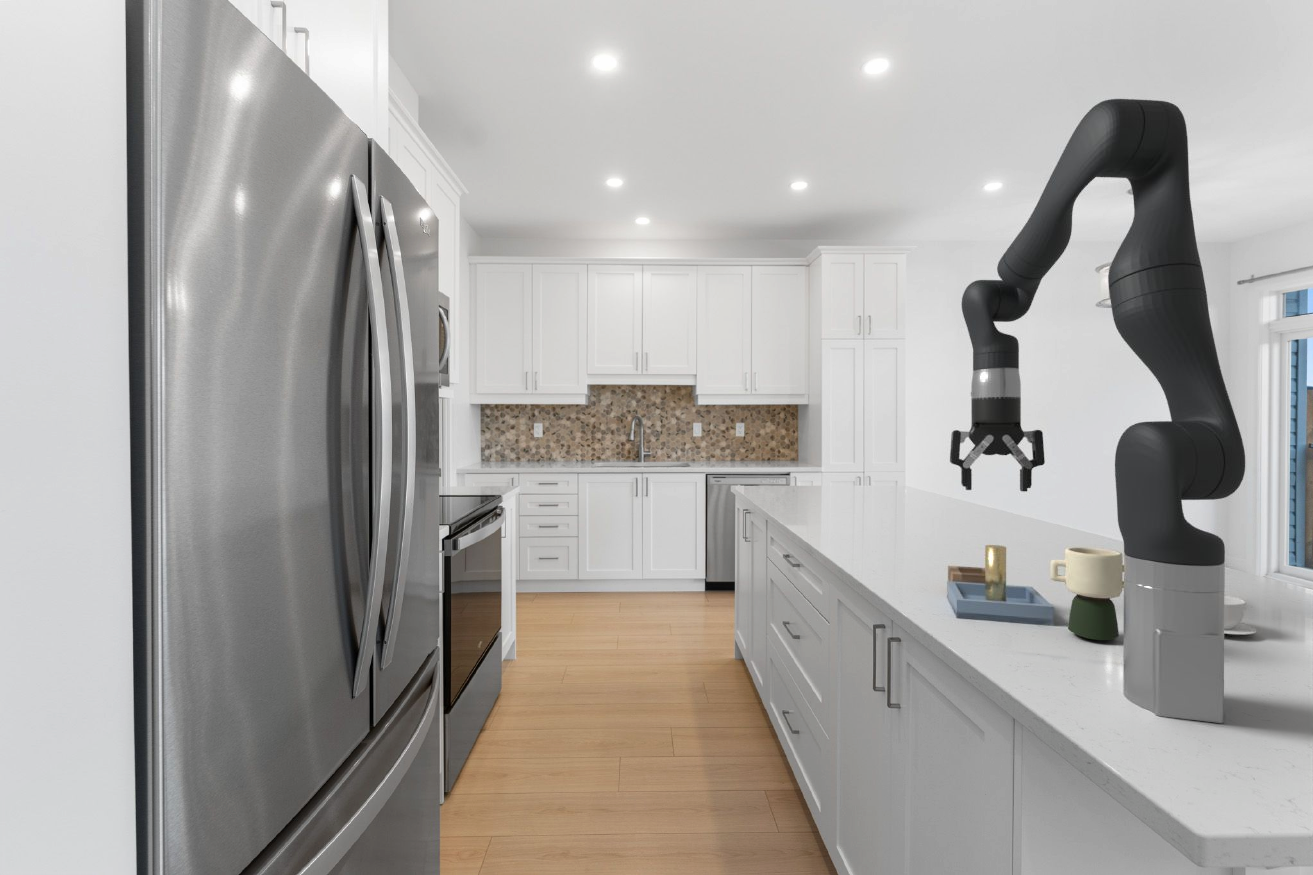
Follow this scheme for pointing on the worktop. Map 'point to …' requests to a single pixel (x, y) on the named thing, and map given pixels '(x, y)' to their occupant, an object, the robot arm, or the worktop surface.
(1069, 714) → the worktop surface
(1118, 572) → the character mug
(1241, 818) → the worktop surface
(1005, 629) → the worktop surface
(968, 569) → the bracket
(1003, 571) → the pin
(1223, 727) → the worktop surface
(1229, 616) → the teacup
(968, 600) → the tray
